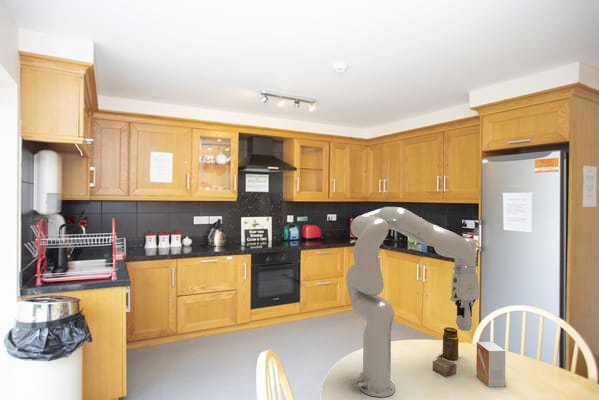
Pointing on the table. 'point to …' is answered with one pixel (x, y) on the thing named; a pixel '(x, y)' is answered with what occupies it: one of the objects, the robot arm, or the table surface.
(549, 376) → the table surface
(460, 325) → the salt shaker
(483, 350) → the small box
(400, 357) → the table surface
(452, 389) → the table surface
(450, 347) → the condiment
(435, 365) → the walnut block
